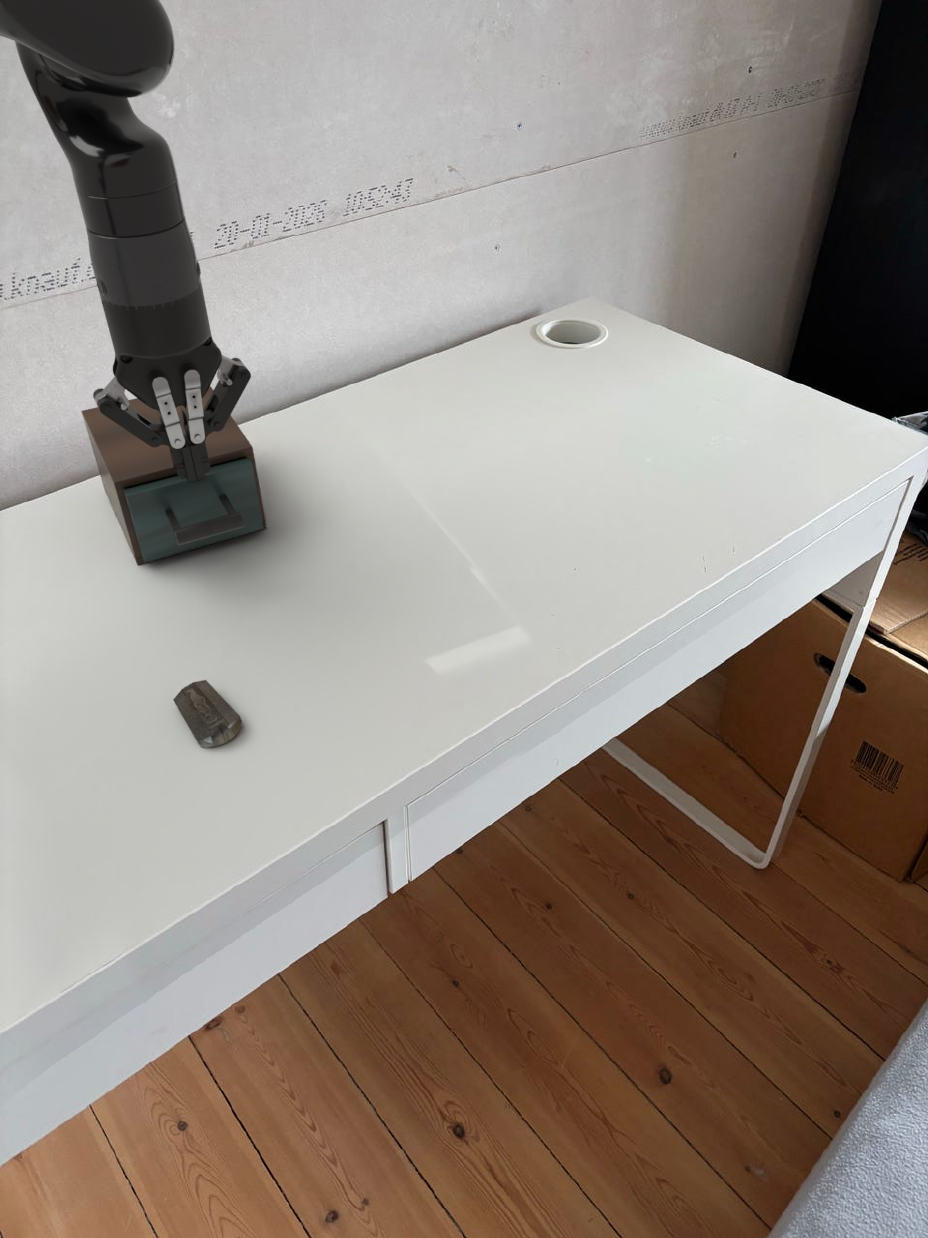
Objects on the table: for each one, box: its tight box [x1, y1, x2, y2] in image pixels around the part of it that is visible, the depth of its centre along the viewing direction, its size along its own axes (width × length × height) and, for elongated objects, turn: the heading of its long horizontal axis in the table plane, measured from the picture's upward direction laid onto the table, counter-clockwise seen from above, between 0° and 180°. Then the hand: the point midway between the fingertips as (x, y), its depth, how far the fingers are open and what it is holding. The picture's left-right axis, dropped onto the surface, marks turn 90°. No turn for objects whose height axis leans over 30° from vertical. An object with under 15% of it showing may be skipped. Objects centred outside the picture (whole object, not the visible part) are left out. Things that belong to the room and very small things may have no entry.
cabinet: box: [80, 385, 268, 566], centre depth 95 cm, size 15×13×9 cm
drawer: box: [124, 458, 264, 563], centre depth 92 cm, size 18×11×7 cm, turn 27°
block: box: [173, 679, 243, 748], centre depth 75 cm, size 4×6×2 cm, turn 40°
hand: (194, 477), depth 85 cm, fingers closed
